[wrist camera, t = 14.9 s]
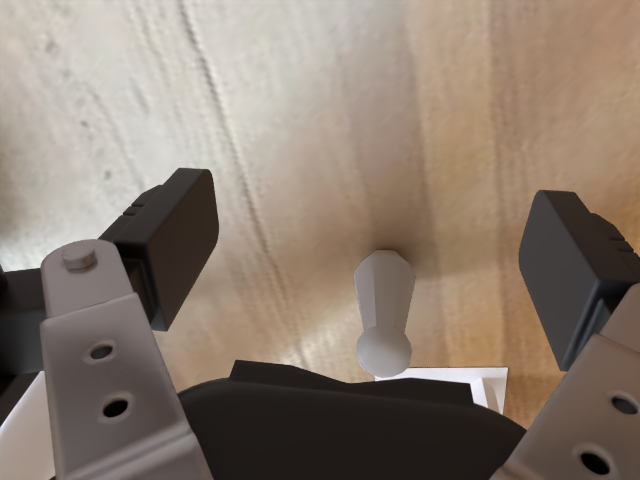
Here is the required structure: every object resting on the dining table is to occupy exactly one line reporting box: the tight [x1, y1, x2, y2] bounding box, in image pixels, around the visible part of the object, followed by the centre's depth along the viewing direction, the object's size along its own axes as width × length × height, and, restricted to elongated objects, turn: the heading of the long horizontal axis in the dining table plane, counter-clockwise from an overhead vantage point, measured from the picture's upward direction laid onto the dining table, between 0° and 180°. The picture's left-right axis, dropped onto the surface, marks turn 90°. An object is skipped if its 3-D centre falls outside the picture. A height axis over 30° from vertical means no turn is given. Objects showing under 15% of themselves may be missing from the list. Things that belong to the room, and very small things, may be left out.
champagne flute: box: [0, 371, 55, 480], centre depth 43 cm, size 7×7×24 cm
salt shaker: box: [354, 250, 416, 378], centre depth 41 cm, size 6×6×13 cm
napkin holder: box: [375, 368, 508, 415], centre depth 54 cm, size 15×11×6 cm
